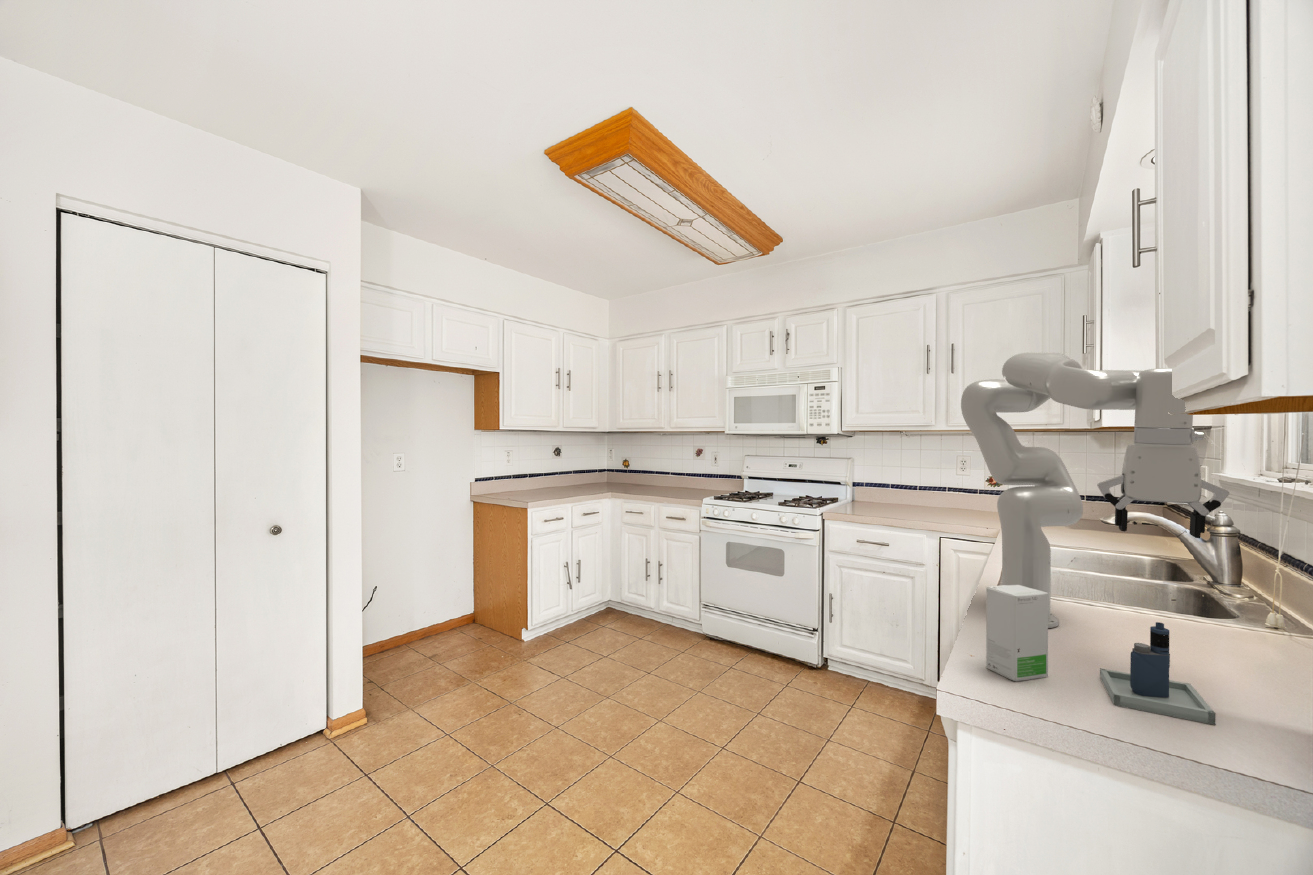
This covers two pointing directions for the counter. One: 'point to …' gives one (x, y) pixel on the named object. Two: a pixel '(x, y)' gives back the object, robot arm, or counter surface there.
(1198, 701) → the tray
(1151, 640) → the vaping device
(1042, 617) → the skincare box
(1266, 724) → the counter surface
